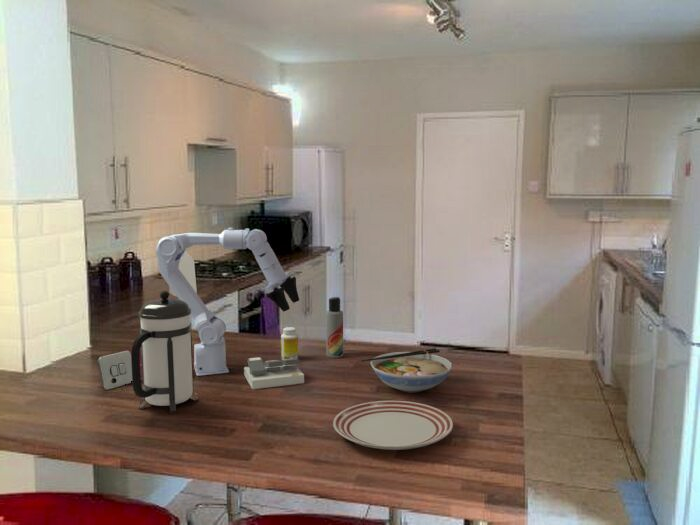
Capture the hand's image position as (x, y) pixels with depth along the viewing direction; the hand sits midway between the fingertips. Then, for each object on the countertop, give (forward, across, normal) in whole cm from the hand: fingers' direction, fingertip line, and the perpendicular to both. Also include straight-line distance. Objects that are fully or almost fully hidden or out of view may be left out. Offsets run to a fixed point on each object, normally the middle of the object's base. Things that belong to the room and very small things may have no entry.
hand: (291, 305), depth 175 cm
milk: (-14, +97, +112) cm, 149 cm away
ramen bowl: (+34, -8, -26) cm, 43 cm away
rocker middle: (+13, -12, +8) cm, 19 cm away
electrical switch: (-4, -30, +46) cm, 55 cm away
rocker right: (+15, -8, +5) cm, 18 cm away
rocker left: (+10, -15, +12) cm, 22 cm away
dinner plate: (+31, -37, -30) cm, 57 cm away
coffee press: (+5, -39, +24) cm, 46 cm away
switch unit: (+16, -12, +10) cm, 22 cm away
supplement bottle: (+17, +8, +15) cm, 24 cm away
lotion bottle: (+24, +15, +4) cm, 29 cm away
